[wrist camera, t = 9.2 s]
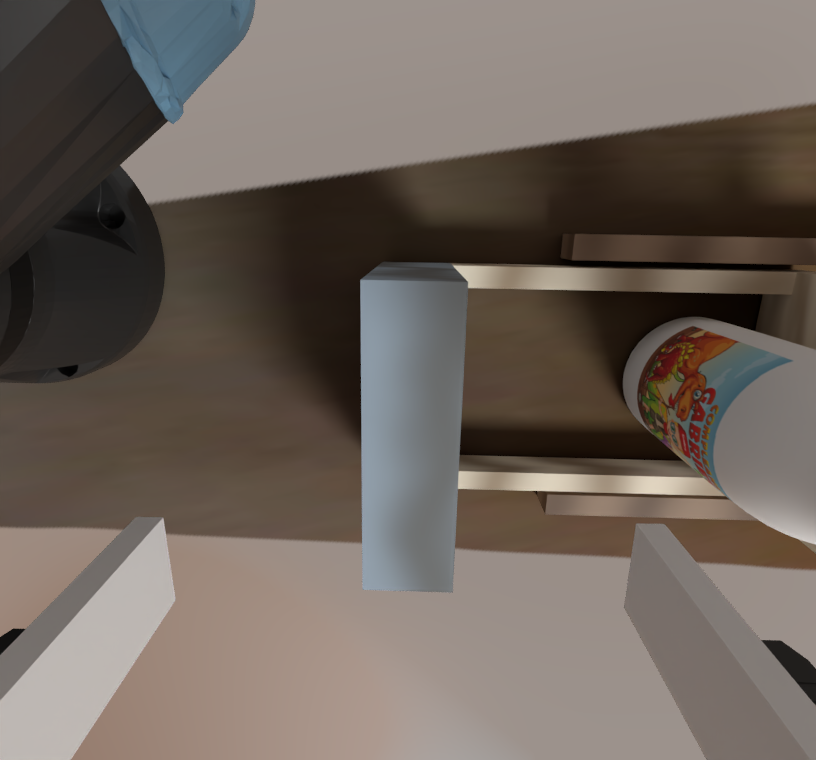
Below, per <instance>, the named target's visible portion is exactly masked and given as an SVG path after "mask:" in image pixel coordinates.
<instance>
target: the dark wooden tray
mask: <svg viewBox="0 0 816 760" xmlns="http://www.w3.org/2000/svg"><path fill="white" fill-rule="evenodd" d="M561 258H563V259H568V260H588V261H638V262H688V263H739V264H789V265H816V238H771V237H718V236H665V235H613V234H563V239H562V249H561ZM537 497H538V499H539V501H540V503H541V506H542V508H543V510H544V512H545V514H552V515H587V516H622V517H657V518H692V519H727V520H758V519H756V518H755V517H753V516H752V515H750V514H748V513H747V512H746V511H744V510H743V509H742V508H740V507H739V506H738V505H737V504H735V503H734V502H733V501H731V500H730V499H729V498H727V497H726V496H703V495H667V494H631V493H595V492H559V491H538V492H537Z"/></svg>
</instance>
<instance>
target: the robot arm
mask: <svg viewBox="0 0 816 760" xmlns="http://www.w3.org/2000/svg"><path fill="white" fill-rule="evenodd" d="M254 7H255V0H0V382H9V383H52V382H60V381H66V380H71V379H74V378H78V377H81V376H84V375H87V374H89V373H91V372H94V371H96V370H98V369H101V368H103V367H105V366H108V365H110V364H112V363H114V362H116V361H117V360H119V359H121V358H122V357H124V356H125V355H126V354H127V353H129V352H130V351H131V350H132V349H133V348H134V347H135V346H136V345H137V344H138V343H139V342H140V341H141V340H142V339H143V337H144V336H145V335H146V333H147V332H148V330H149V328H150V327H151V325H152V323H153V321H154V319H155V317H156V314H157V312H158V309H159V306H160V303H161V299H162V294H163V288H164V277H165V265H164V254H163V248H162V243H161V239H160V235H159V231H158V228H157V225H156V223H155V220H154V217H153V215H152V213H151V211H150V208H149V206H148V204H147V203H146V201H145V199H144V197H143V196H142V194H141V192H140V191H139V189H138V188H137V186H136V185H135V183H134V182H133V181H132V179H131V178H130V177H129V176H128V174H127V173H126V172H125V171H124V170H123V169H122V168H121V166H120V164H121V163H122V162H124V161H125V160H126V159H127V158H128V157H129V156H130V155H131V154H132V153H133V152H135V151H136V150H137V149H138V148H139V147H140V146H141V145H142V144H143V143H144V142H145V141H147V140H148V139H149V138H150V137H151V136H152V135H153V134H154V133H155V132H156V131H158V130H159V129H160V128H161V127H162V126H163V125H164V124H165V123H166V122H167V121H170V122H171V123H172V124H174V123H175V122H176V121H177V120H179V119H180V117H181V116H182V114H183V104H184V103H185V102H186V100H188V98H189V97H190V96H191V95H192V94H193V93H194V92H195V91H196V89H197V88H198V87H199V86H200V85H201V84H202V83H203V82H204V81H205V80H206V79H207V78H208V76H209V75H210V74H211V73H212V72H213V71H214V70H215V69H216V68H217V67H218V66H219V65H220V64H221V63H222V62H223V61H224V60H225V58H227V57H228V55H229V54H230V53H231V52H232V51H233V50H234V49H235V48H236V47H237V46H238V45H239V43H240V42H241V41H242V40H243V38H244V37H245V35H246V33H247V31H248V30H249V27H250V24H251V21H252V18H253V14H254ZM175 600H176V599H175V593H174V587H173V579H172V573H171V567H170V560H169V553H168V546H167V540H166V533H165V526H164V520H163V517H136V518H135V519H134V520H133V521H132V522H131V523H130V524H129V525H128V526H127V527H126V528H125V529H124V530H123V531H122V532H121V533H120V534H119V535H118V536H117V537H116V538H115V539H114V540H113V541H112V542H111V543H110V544H109V545H108V546H107V547H106V548H105V549H104V550H103V551H102V552H101V553H100V554H99V555H98V556H97V557H96V558H95V559H94V560H93V561H92V562H91V563H90V564H89V565H88V566H87V568H85V569H84V570H83V572H82V573H81V574H80V575H79V576H78V577H77V578H76V579H75V580H74V581H73V582H72V583H71V584H70V585H69V586H68V587H67V588H66V589H65V590H64V591H63V592H62V593H61V594H60V595H59V596H58V597H57V598H56V599H55V600H54V601H53V602H52V603H51V604H50V605H49V606H48V607H47V608H46V609H45V610H44V611H43V612H42V613H41V614H40V615H39V616H38V617H37V619H35V620H34V621H33V622H32V623H31V624H30V625H29V626H28V627H27V628H26V629H12V630H11V631H9V632H8V633H6V634H4V635H3V636H1V637H0V760H71V758H72V757H73V755H74V754H75V752H76V751H77V749H78V748H79V746H80V745H81V743H82V742H83V740H84V738H85V737H86V736H87V734H88V733H89V731H90V729H91V728H92V726H93V725H94V723H95V722H96V720H97V719H98V717H99V716H100V714H101V713H102V711H103V710H104V708H105V707H106V705H107V704H108V702H109V701H110V699H111V697H112V696H113V694H114V693H115V691H116V690H117V688H118V687H119V685H120V684H121V682H122V681H123V679H124V678H125V676H126V675H127V673H128V672H129V670H130V669H131V667H132V665H133V664H134V663H135V661H136V659H137V658H138V656H139V655H140V653H141V652H142V650H143V649H144V647H145V646H146V644H147V643H148V641H149V640H150V638H151V637H152V635H153V633H154V632H155V631H156V629H157V628H158V626H159V624H160V623H161V621H162V620H163V618H164V617H165V615H166V614H167V612H168V611H169V609H170V608H171V606H172V605H173V603H174V602H175ZM624 608H625V610H626V612H627V614H628V616H629V617H630V619H631V621H632V623H633V625H634V627H635V628H636V630H637V632H638V634H639V636H640V638H641V639H642V641H643V643H644V645H645V647H646V649H647V651H648V652H649V654H650V656H651V658H652V660H653V662H654V663H655V665H656V667H657V669H658V671H659V672H660V675H661V676H662V678H663V680H664V682H665V684H666V686H667V687H668V689H669V691H670V693H671V695H672V696H673V698H674V700H675V702H676V704H677V706H678V708H679V709H680V711H681V713H682V715H683V717H684V719H685V721H686V722H687V724H688V726H689V728H690V730H691V732H692V733H693V735H694V737H695V739H696V741H697V743H698V744H699V746H700V748H701V750H702V752H703V754H704V755H705V757H706V759H707V760H816V669H815V667H814V666H813V665H812V664H811V663H810V662H809V661H808V660H807V659H806V658H804V657H803V656H801V655H800V654H799V653H797V652H796V651H795V650H793V649H792V648H790V647H789V646H787V645H786V644H785V643H783V642H782V641H771V640H760V638H759V637H758V636H757V635H756V633H755V632H754V631H753V630H752V629H751V627H750V626H749V625H748V624H747V623H746V622H745V620H744V619H743V618H742V617H741V615H740V614H739V613H738V612H737V611H736V610H735V608H734V607H733V606H732V605H731V604H730V602H729V601H728V600H727V599H726V598H725V596H724V595H723V594H722V593H721V592H720V590H719V589H718V588H717V587H716V586H715V584H714V583H713V582H712V581H711V579H710V578H709V577H708V576H707V575H706V573H705V572H704V571H703V570H702V569H701V567H700V566H699V565H698V564H697V563H696V561H695V560H694V559H693V558H692V557H691V555H690V554H689V553H688V552H687V551H686V549H685V548H684V547H683V546H682V545H681V543H680V542H679V541H678V540H677V539H676V537H675V536H674V535H673V534H672V533H671V531H670V530H669V529H668V528H667V527H666V525H665V524H636V529H635V536H634V543H633V549H632V556H631V563H630V571H629V577H628V584H627V591H626V597H625V605H624Z"/></svg>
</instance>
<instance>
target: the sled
mask: <svg viewBox="0 0 816 760" xmlns="http://www.w3.org/2000/svg"><path fill="white" fill-rule="evenodd" d="M468 288H495V289H543V290H591V291H639V292H687V293H735V294H763V296H762V301H761V305H760V310H759V315H758V320H757V324H756V329H755V331H756V332H759V333H763V334H766V335H769V336H773V337H776V338H779V339H783V340H786V341H789V342H792V343H795V344H799V345H802V346H805V347H808V348H811V349H815V350H816V272H814V271H804V270H775V269H725V268H675V267H626V266H576V265H526V264H476V263H426V262H382V263H381V264H379V265H378V266H377V267H376V268H374V269H373V270H372V271H371V272H369V273H368V274H367V275H366V276H364V277H363V278H362V279H361V280H360V306H361V437H362V552H363V553H362V560H363V561H362V563H363V590H390V591H422V592H453V573H454V554H455V534H456V515H457V495H458V489H487V490H523V491H559V492H595V493H631V494H667V495H703V496H725V495H724V494H722V493H721V492H720V491H719V490H717V489H716V488H715V487H714V486H713V485H712V484H710V483H709V482H708V481H707V480H706V479H704V478H703V477H702V476H701V475H700V474H699V473H697V472H696V471H695V470H694V469H693V468H691V467H690V466H689V465H688V464H687V463H686V462H684V461H667V460H630V459H592V458H555V457H517V456H479V455H460V435H461V416H462V396H463V376H464V356H465V336H466V316H467V297H468ZM799 540H800V539H799ZM800 541H801V542H802V543H804V544H805V545H806V546H807V547H809V548H810V549H811V550H812V551H813V552H815V553H816V544H812V543H809V542H805V541H802V540H800Z"/></svg>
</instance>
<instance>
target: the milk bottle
mask: <svg viewBox="0 0 816 760" xmlns="http://www.w3.org/2000/svg"><path fill="white" fill-rule="evenodd" d="M623 393H624V397H625V401H626V403H627V406H628V408H629V409H630V411H631V413H632V414H633V415H634V417H635V418H636V419H637V420H638V421H639V422H640V423H641V424H642V425H643V426H644V427H645V428H647V429H648V430H649V431H650V432H651V433H652V434H653V435H654V436H656V437H657V438H658V439H659V440H660V441H661V442H662V443H664V444H665V445H666V446H667V447H668V448H669V449H671V450H672V451H673V452H674V453H675V454H676V455H677V456H679V457H680V458H681V459H682V460H683V461H684V462H686V463H687V464H688V465H689V466H690V467H691V468H693V469H694V470H695V471H696V472H697V473H699V474H700V475H701V476H702V477H703V478H704V479H706V480H707V481H708V482H709V483H710V484H712V485H713V486H714V487H715V488H716V489H717V490H719V491H720V492H721V493H722V494H724V495H725V496H726V497H727V498H729V499H730V500H731V501H733V502H734V503H735V504H737V505H738V506H739V507H740V508H742V509H743V510H744V511H746V512H747V513H748V514H750V515H752V516H753V517H755V518H756V519H758V520H760V521H761V522H763V523H764V524H766V525H768V526H770V527H772V528H774V529H776V530H778V531H780V532H782V533H784V534H786V535H789V536H791V537H794V538H797V539H800V540H802V541H805V542H809V543H812V544H816V350H815V349H811V348H808V347H805V346H802V345H799V344H795V343H792V342H789V341H786V340H783V339H779V338H776V337H773V336H769V335H766V334H763V333H759V332H756V331H752V330H749V329H746V328H742V327H739V326H736V325H732V324H729V323H725V322H722V321H719V320H714V319H710V318H705V317H684V318H679V319H675V320H672V321H669V322H667V323H664V324H662V325H660V326H659V327H657V328H655V329H654V330H652V331H651V332H650V333H648V334H647V335H646V336H645V337H644V338H643V339H642V340H641V341H640V342H639V343H638V344H637V346H636V347H635V348H634V350H633V351H632V352H631V354H630V357H629V359H628V361H627V363H626V367H625V370H624V375H623Z"/></svg>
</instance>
